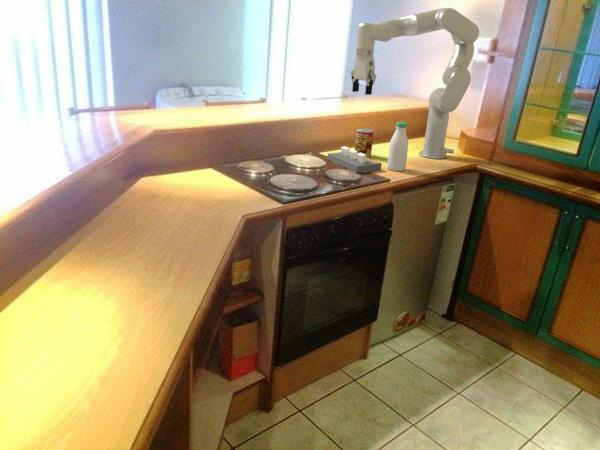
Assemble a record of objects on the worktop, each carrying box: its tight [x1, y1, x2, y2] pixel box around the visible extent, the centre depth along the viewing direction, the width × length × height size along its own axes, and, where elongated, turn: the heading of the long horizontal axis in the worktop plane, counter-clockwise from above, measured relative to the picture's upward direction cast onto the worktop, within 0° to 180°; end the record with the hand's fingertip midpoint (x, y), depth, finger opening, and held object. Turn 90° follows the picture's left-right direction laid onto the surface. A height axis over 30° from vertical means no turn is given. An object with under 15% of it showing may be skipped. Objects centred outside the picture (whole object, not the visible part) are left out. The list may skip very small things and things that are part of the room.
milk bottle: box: [386, 121, 409, 172], centre depth 207 cm, size 8×8×20 cm
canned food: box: [354, 128, 374, 159], centre depth 227 cm, size 8×8×12 cm
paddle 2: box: [357, 152, 367, 163], centre depth 207 cm, size 2×4×3 cm, turn 30°
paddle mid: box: [349, 148, 358, 160], centre depth 211 cm, size 2×4×3 cm, turn 30°
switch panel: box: [327, 151, 383, 173], centre depth 213 cm, size 13×22×3 cm, turn 30°
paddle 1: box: [340, 145, 351, 156], centre depth 216 cm, size 2×4×3 cm, turn 30°
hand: (361, 93), depth 221 cm, fingers open, 9 cm apart
